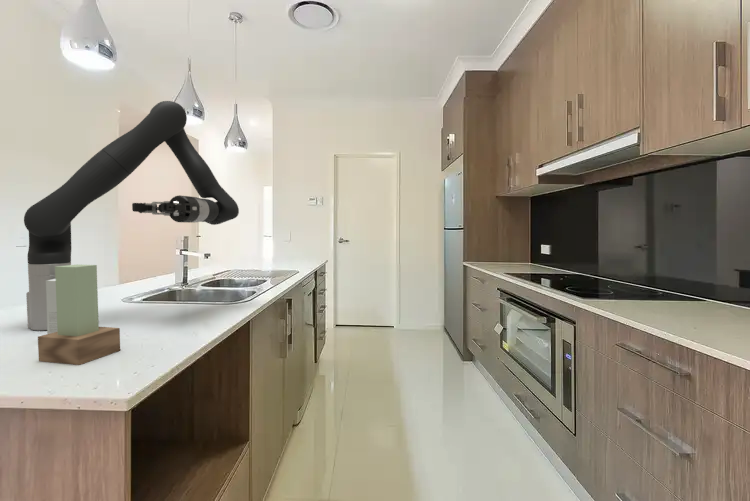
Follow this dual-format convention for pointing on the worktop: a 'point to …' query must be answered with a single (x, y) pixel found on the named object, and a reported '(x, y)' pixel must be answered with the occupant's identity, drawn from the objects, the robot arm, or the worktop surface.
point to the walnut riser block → (78, 346)
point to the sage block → (76, 299)
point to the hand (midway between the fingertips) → (147, 207)
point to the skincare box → (51, 306)
